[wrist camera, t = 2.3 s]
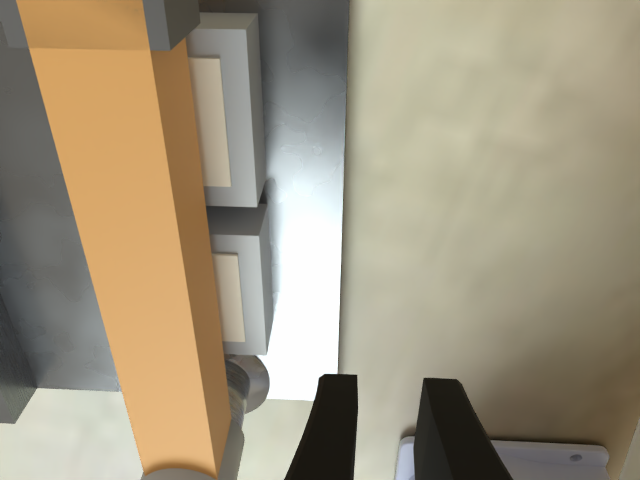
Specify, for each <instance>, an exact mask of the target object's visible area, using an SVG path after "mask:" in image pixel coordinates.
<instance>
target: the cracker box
mask: <svg viewBox="0 0 640 480" xmlns="http://www.w3.org/2000/svg"><path fill="white" fill-rule="evenodd" d="M618 480H640V417H639V420H638V423H637V426H636V429H635V432H634V435H633V438H632V441H631V444H630V447H629V450H628V453H627V456H626V459H625V462H624V465H623V468H622V471H621V474H620V476H619V479H618Z"/></svg>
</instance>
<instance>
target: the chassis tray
mask: <svg viewBox="0 0 640 480" xmlns="http://www.w3.org/2000/svg"><path fill="white" fill-rule="evenodd" d="M198 3H199V12H210V13H258V25H259V44H260V64H261V83H262V102H263V122H264V141H265V160H266V180H265V183H264V187H263V190H262V193H261V196H260V200H259V203H258V204H268V218H269V237H270V257H271V276H272V295H273V315H274V319H273V325H272V330H271V335H270V341H269V346H268V352H267V356H262V355H238V354H224V361H225V369H226V377H227V386H228V394H229V402H230V410H231V419H233V420H234V421H235V422H236V423H237V424H238V425H239V426H240V428H241V429H242V424H243V420H244V415H245V414H246V413H249V412H251V411H253V410H255V409H256V408H258V407H259V406H260V405H261V404H262V403H263V402H264V401H265V399H266V398H270V399H291V400H313V401H314V399H315V395H316V391H317V386H318V380H319V377H320V376H322V375H323V374H337V372H338V340H339V309H340V277H341V246H342V214H343V183H344V151H345V120H346V88H347V57H348V25H349V0H198ZM37 388H51V389H72V390H94V391H116V392H122V390H121V386H120V382H119V379H118V375H117V371H116V368H115V364H114V360H113V357H112V353H111V349H110V345H109V342H108V338H107V334H106V331H105V327H104V323H103V320H102V316H101V312H100V308H99V305H98V301H97V297H96V294H95V290H94V286H93V283H92V279H91V275H90V272H89V268H88V264H87V260H86V257H85V253H84V249H83V246H82V242H81V238H80V235H79V231H78V227H77V224H76V220H75V216H74V212H73V209H72V205H71V201H70V198H69V194H68V190H67V187H66V183H65V179H64V176H63V172H62V168H61V164H60V161H59V157H58V153H57V150H56V146H55V142H54V139H53V135H52V131H51V128H50V124H49V120H48V116H47V113H46V109H45V105H44V102H43V98H42V94H41V91H40V87H39V83H38V80H37V76H36V72H35V68H34V65H33V61H32V57H31V54H30V50H29V48H9V46H8V42H7V39H6V36H5V32H4V29H3V25H2V22H1V18H0V423H11V424H15V423H16V421H17V419H18V418H19V416H20V415H21V413H22V411H23V410H24V408H25V407H26V405H27V403H28V402H29V400H30V399H31V397H32V396H33V394H34V392H35V391H36V389H37Z"/></svg>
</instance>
